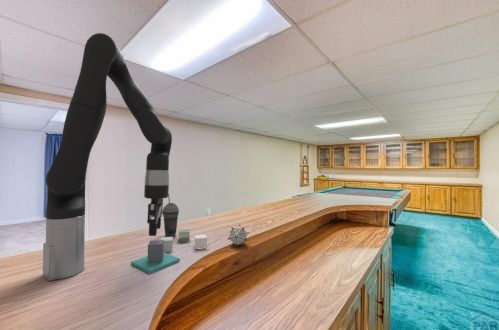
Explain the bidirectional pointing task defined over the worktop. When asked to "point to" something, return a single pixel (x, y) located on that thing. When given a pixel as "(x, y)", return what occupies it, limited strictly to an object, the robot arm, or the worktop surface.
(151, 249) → the charcoal block
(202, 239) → the offwhite block
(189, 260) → the worktop surface
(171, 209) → the beverage cup
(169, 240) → the grey block
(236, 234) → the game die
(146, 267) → the teal mat
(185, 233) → the sage block
